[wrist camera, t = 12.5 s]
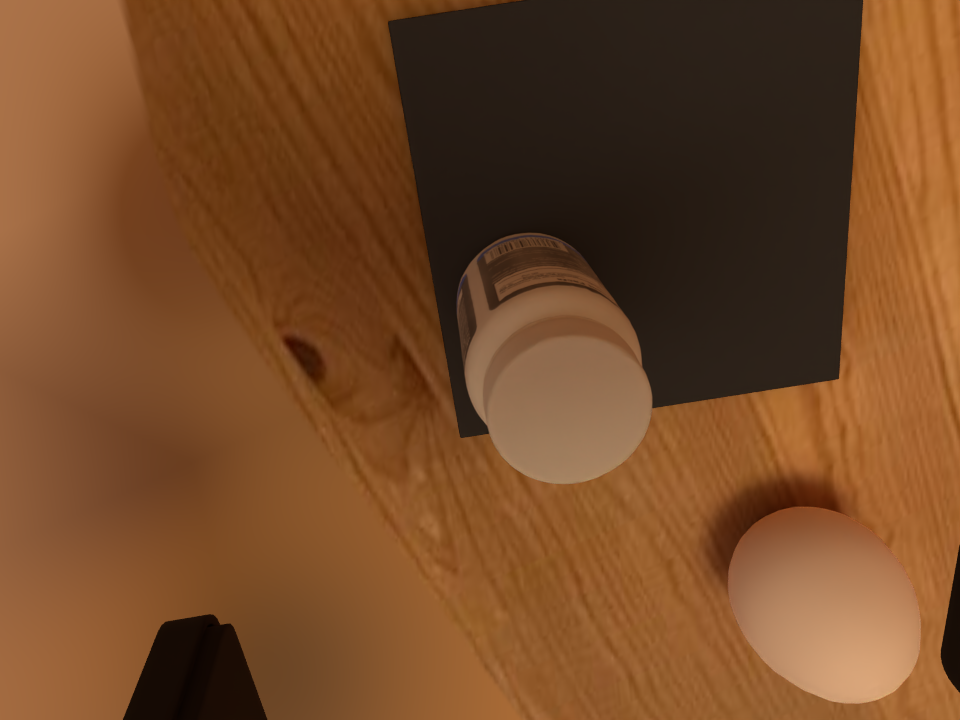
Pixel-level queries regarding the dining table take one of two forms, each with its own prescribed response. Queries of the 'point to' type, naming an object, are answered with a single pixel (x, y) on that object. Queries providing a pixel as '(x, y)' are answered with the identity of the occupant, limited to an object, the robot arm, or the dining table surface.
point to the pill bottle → (550, 360)
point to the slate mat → (649, 170)
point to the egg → (825, 604)
